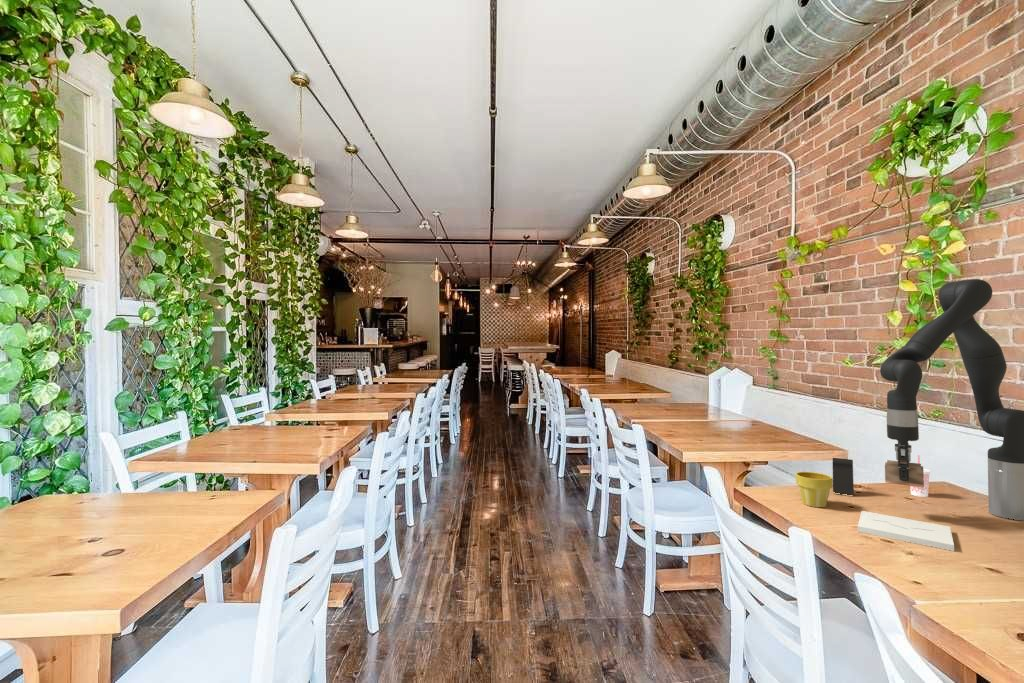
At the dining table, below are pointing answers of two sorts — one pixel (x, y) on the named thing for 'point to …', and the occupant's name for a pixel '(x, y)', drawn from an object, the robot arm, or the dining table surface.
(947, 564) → the dining table surface
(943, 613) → the dining table surface
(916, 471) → the block
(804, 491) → the plant pot
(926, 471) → the beverage cup
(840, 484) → the phone stand
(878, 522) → the board
